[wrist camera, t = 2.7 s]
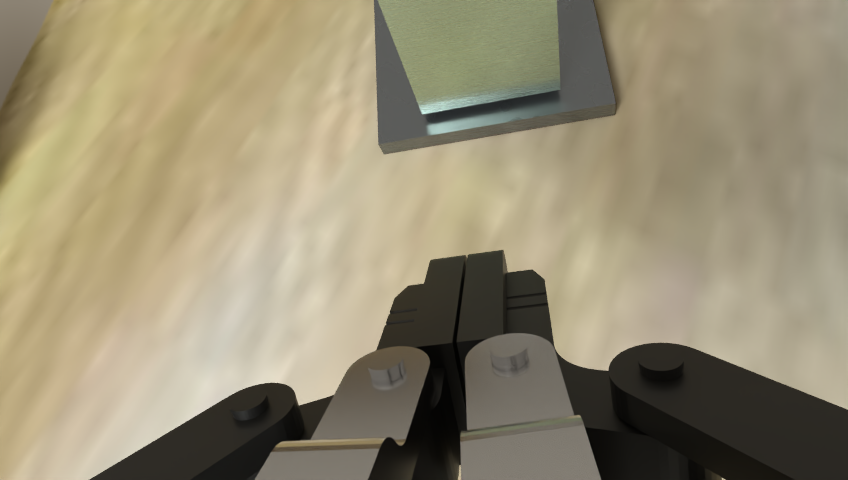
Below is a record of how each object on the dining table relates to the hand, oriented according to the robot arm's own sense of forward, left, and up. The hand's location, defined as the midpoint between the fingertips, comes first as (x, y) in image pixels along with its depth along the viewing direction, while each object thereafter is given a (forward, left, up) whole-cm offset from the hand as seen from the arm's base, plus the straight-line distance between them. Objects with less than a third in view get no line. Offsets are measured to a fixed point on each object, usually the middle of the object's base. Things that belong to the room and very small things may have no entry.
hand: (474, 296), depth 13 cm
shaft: (-18, -13, -14) cm, 26 cm away
